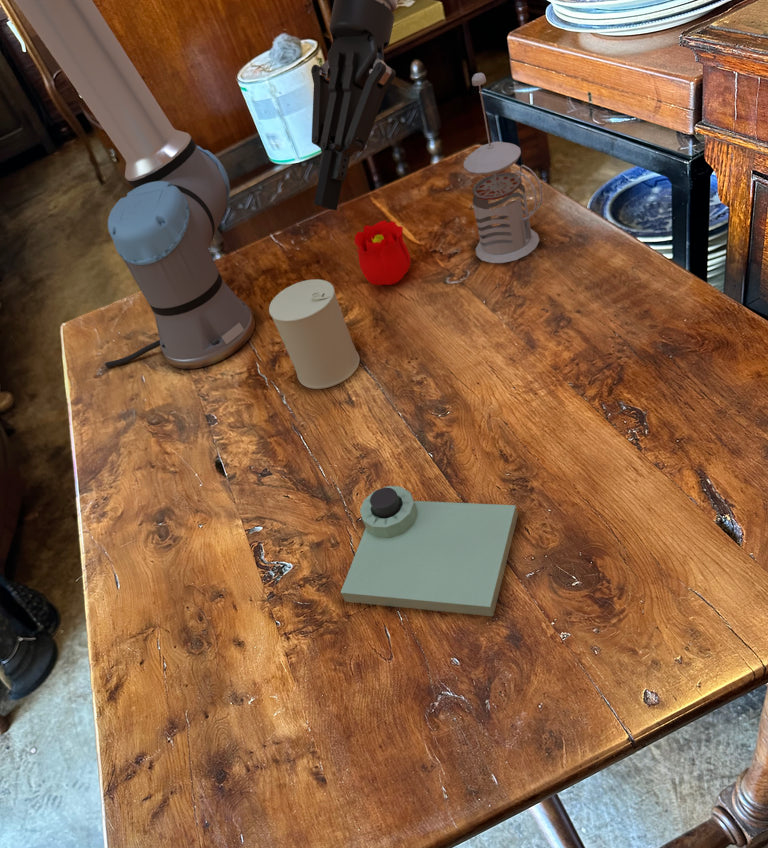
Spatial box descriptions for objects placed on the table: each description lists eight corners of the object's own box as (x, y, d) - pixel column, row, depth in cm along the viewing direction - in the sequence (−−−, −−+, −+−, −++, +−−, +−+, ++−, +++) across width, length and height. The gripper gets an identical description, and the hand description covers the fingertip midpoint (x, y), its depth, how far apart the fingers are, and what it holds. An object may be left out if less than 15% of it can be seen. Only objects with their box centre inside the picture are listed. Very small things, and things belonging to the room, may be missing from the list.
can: (352, 386, 107) (324, 313, 99) (290, 391, 110) (258, 321, 102) (365, 344, 113) (340, 271, 105) (307, 350, 116) (277, 280, 108)
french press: (494, 224, 125) (464, 58, 108) (561, 230, 119) (541, 54, 101) (463, 259, 121) (426, 91, 103) (531, 267, 115) (504, 90, 97)
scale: (341, 601, 83) (330, 581, 81) (378, 505, 91) (369, 485, 88) (493, 616, 77) (487, 596, 74) (519, 512, 85) (514, 490, 82)
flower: (424, 271, 122) (412, 224, 116) (391, 299, 119) (376, 252, 113) (389, 261, 127) (375, 216, 121) (356, 288, 124) (340, 242, 118)
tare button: (370, 518, 86) (366, 507, 84) (378, 497, 87) (374, 486, 86) (396, 519, 84) (392, 508, 83) (404, 498, 86) (400, 487, 85)
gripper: (424, 15, 94) (380, 219, 100) (349, 22, 102) (313, 210, 108) (383, -14, 89) (339, 203, 94) (307, -5, 97) (270, 195, 102)
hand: (325, 207), depth 101 cm, fingers closed
